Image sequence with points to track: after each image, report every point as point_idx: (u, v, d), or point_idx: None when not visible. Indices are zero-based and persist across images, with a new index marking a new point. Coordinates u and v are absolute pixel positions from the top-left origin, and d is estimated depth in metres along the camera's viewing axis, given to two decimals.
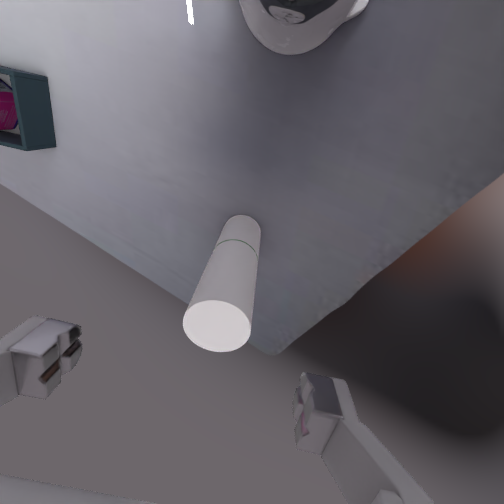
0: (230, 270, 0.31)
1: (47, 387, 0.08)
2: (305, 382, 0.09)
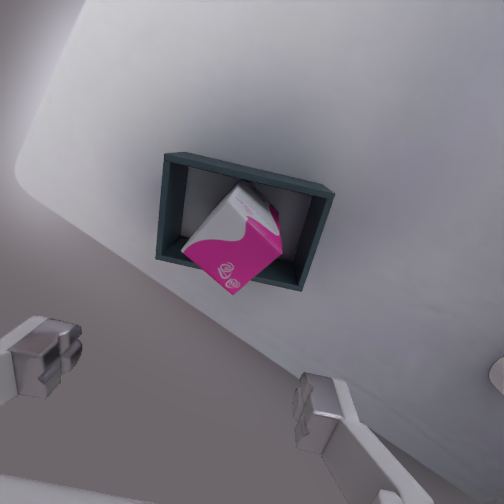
0: None
1: (47, 387, 0.08)
2: (305, 382, 0.09)
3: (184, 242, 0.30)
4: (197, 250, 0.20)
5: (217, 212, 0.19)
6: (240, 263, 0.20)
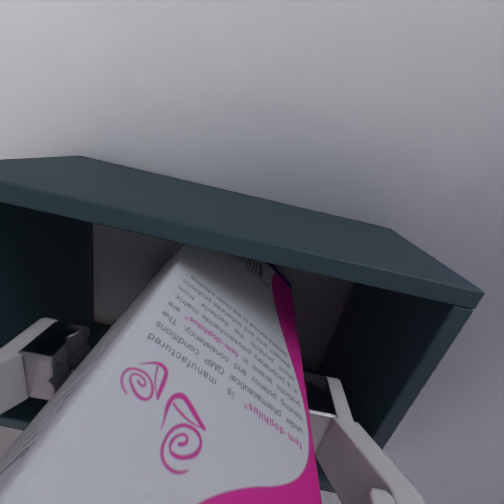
0: None
1: (57, 389, 0.08)
2: None
3: (94, 344, 0.14)
4: None
5: None
6: None
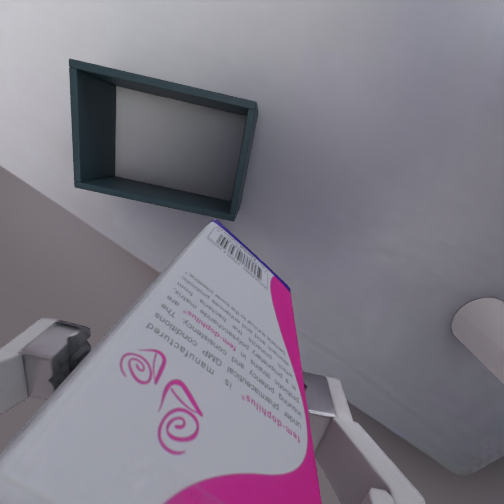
0: None
1: None
2: None
3: (116, 179, 0.28)
4: None
5: None
6: None
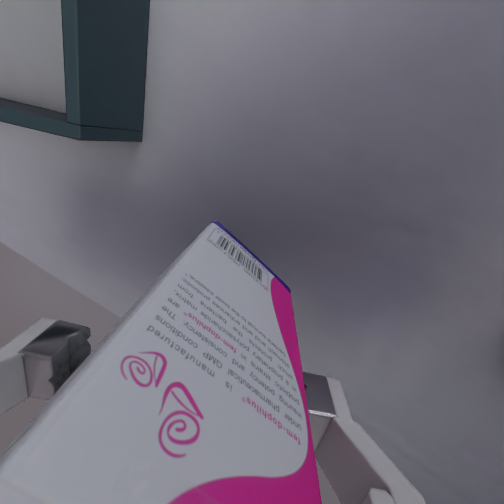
0: None
1: (57, 389, 0.08)
2: None
3: None
4: None
5: None
6: None
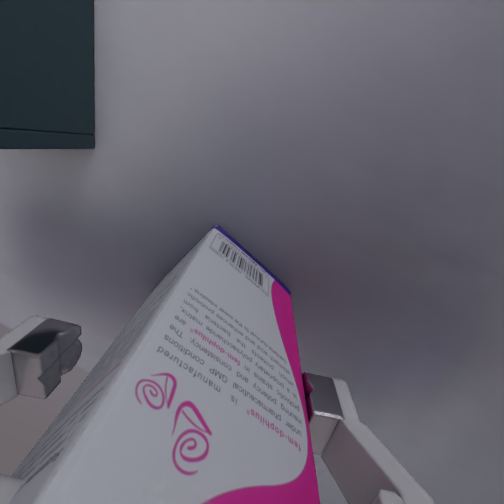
0: None
1: (47, 387, 0.08)
2: (305, 382, 0.09)
3: None
4: None
5: None
6: None
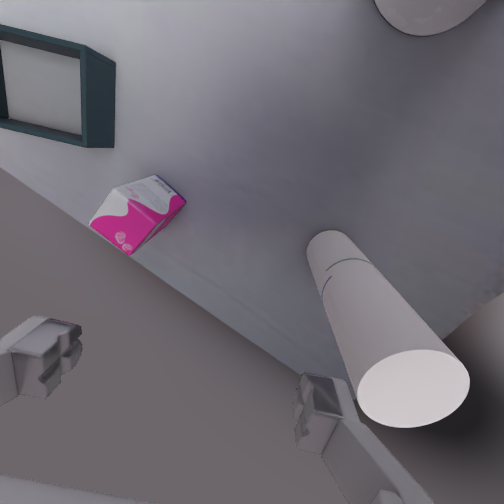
0: (395, 299, 0.22)
1: (47, 387, 0.08)
2: (305, 382, 0.09)
3: (5, 118, 0.34)
4: (98, 223, 0.29)
5: (107, 196, 0.28)
6: (129, 232, 0.29)
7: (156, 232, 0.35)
